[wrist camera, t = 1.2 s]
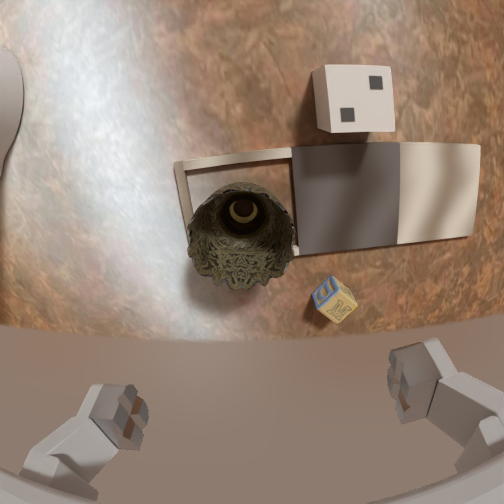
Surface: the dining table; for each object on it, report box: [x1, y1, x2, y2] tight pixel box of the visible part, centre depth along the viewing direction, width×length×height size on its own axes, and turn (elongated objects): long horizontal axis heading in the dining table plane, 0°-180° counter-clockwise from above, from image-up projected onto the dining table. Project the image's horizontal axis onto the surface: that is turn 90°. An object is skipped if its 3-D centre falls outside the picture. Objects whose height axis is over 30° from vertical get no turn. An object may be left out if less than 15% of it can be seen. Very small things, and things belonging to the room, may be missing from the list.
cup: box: [187, 182, 296, 291], centre depth 25 cm, size 8×7×8 cm
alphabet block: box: [312, 275, 358, 324], centre depth 31 cm, size 3×3×3 cm
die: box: [312, 65, 395, 133], centre depth 22 cm, size 5×5×5 cm
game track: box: [174, 142, 480, 266], centre depth 28 cm, size 30×10×1 cm, turn 97°
